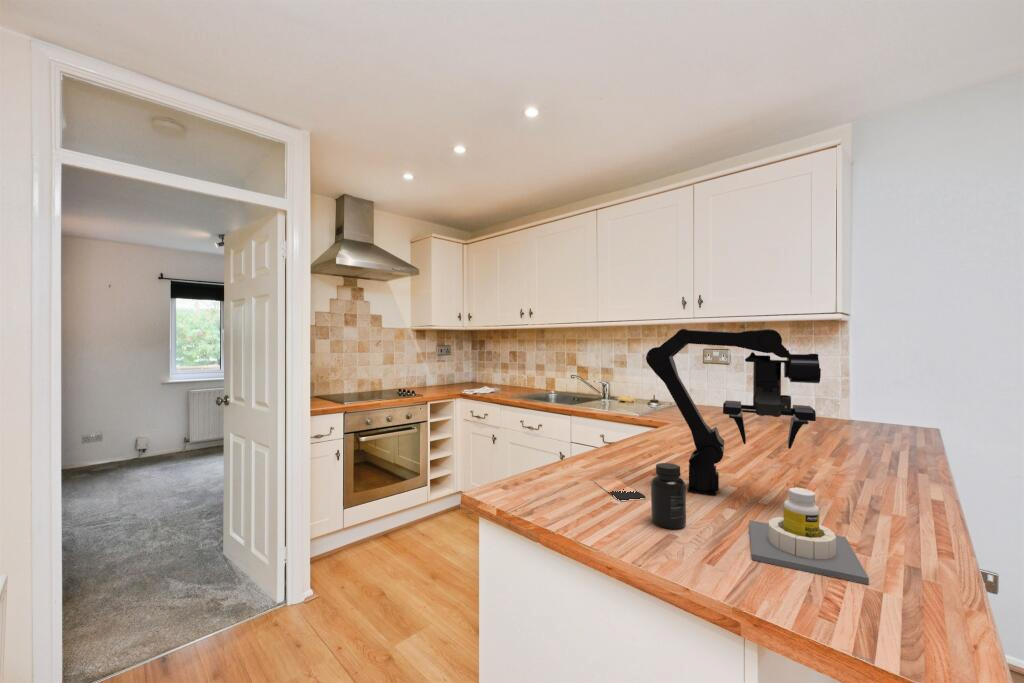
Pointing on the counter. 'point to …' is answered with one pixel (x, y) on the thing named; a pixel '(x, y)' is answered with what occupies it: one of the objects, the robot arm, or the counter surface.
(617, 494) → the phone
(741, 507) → the counter surface
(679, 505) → the supplement bottle
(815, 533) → the supplement bottle
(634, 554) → the counter surface
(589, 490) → the counter surface
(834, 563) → the bottle holder
